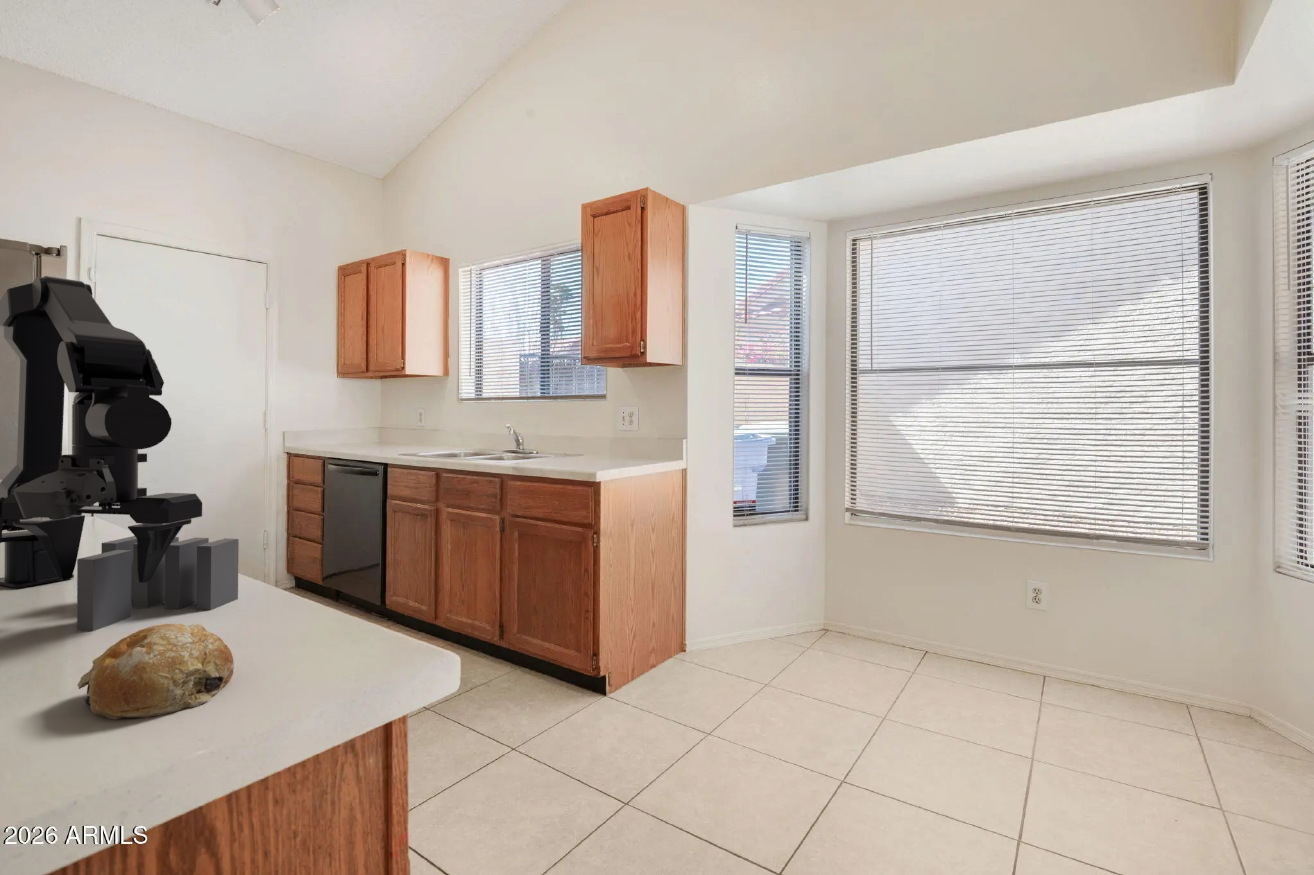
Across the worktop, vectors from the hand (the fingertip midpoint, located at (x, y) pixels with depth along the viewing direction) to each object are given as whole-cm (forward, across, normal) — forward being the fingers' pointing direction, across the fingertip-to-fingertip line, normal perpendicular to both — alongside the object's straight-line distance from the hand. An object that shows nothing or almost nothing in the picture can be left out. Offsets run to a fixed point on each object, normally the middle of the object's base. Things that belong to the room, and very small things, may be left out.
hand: (105, 580), depth 73 cm
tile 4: (+5, +3, +8) cm, 10 cm away
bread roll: (+5, +20, -18) cm, 28 cm away
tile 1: (+5, 0, 0) cm, 5 cm away
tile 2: (+5, -5, +8) cm, 11 cm away
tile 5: (+5, +7, +8) cm, 12 cm away
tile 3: (+5, -1, +8) cm, 10 cm away
